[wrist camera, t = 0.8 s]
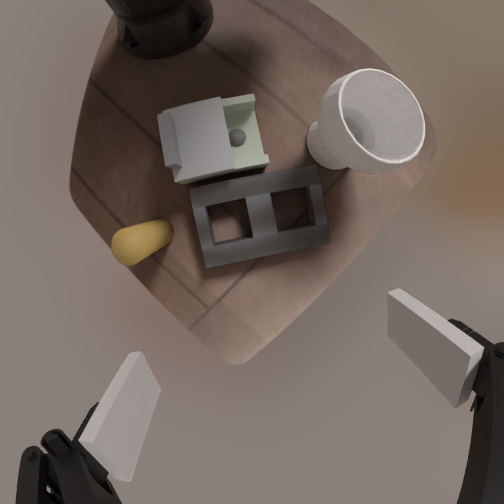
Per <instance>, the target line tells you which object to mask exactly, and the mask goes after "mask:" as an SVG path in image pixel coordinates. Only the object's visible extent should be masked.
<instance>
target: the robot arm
mask: <svg viewBox="0 0 504 504" xmlns="http://www.w3.org/2000/svg"><path fill="white" fill-rule="evenodd" d="M105 1H106V2H107V4H108V5H109V6H110V8H111V9H112V10H113V12H114V13H115V15H116V17H117V28H118V36H119V39H120V42H121V43H122V45H123V46H124V47H125V49H126V50H127V51H128V52H129V53H131V54H132V55H134V56H137V57H140V58H147V59H155V58H163V57H167V56H171V55H174V54H177V53H179V52H182V51H184V50H186V49H188V48H189V47H191V46H193V45H194V44H196V43H197V42H198V41H199V40H201V39H202V38H203V37H204V36H205V35H206V33H207V32H208V31H209V29H210V27H211V25H212V22H213V8H212V4H211V2H210V0H105ZM387 299H388V336H389V337H390V338H391V340H392V341H393V342H395V344H396V345H397V346H398V347H399V348H400V349H401V350H402V351H403V352H404V353H405V354H406V355H407V356H408V357H409V358H410V359H411V360H412V362H413V363H414V364H415V365H416V366H417V367H418V368H419V369H420V370H421V371H422V372H423V373H424V374H425V375H426V376H427V378H429V380H430V381H431V382H432V383H433V384H434V385H435V386H436V387H437V389H438V390H439V391H440V392H441V393H442V394H443V395H444V396H445V397H446V399H447V400H448V401H449V402H450V403H451V404H452V405H453V407H454V408H457V407H458V406H460V405H461V404H463V403H464V402H466V401H467V400H468V399H469V396H470V394H471V391H472V390H473V391H474V392H475V393H476V396H475V399H474V401H473V404H472V406H471V409H470V411H472V410H473V408H474V418H473V427H472V436H471V443H470V449H469V455H468V461H467V466H466V471H465V475H464V479H463V483H462V487H461V491H460V494H459V498H458V501H457V504H504V342H501V343H496V344H495V345H494V344H492V343H491V342H490V341H488V340H487V339H485V338H484V337H482V336H481V335H480V334H478V333H477V332H474V331H473V330H472V329H471V328H468V326H467V325H465V324H464V323H462V322H461V321H457V320H454V319H450V320H448V321H447V320H445V319H444V318H443V317H441V316H440V315H438V314H437V313H435V312H434V311H432V310H431V309H429V308H428V307H426V306H425V305H424V304H422V303H421V302H419V301H417V300H416V299H415V298H413V297H412V296H410V295H408V294H407V293H406V292H404V291H402V290H401V289H399V288H398V289H395V290H393V291H390V292H387ZM160 392H161V388H160V387H159V385H158V383H157V381H156V379H155V377H154V375H153V373H152V371H151V369H150V367H149V365H148V363H147V361H146V359H145V357H144V355H143V353H142V351H137V352H130V353H129V354H128V356H127V358H126V359H125V361H124V363H123V364H122V366H121V367H120V369H119V371H118V372H117V374H116V376H115V378H114V379H113V381H112V382H111V384H110V386H109V387H108V389H107V391H106V392H105V394H104V396H103V397H102V400H101V401H100V402H97V403H96V404H95V405H94V406H93V407H92V408H91V409H90V410H89V412H88V414H87V416H86V418H85V419H84V421H83V424H81V426H80V428H79V429H78V431H77V433H76V435H75V436H74V438H73V440H72V442H71V440H70V439H69V438H68V437H67V436H66V435H65V434H64V432H63V431H62V430H60V429H53V430H50V431H48V432H47V433H46V434H45V435H44V436H43V437H42V439H41V445H42V446H43V447H44V448H45V450H46V451H47V452H48V454H44V453H43V451H42V450H41V449H40V448H39V447H37V446H31V447H28V448H27V449H25V451H24V452H23V454H22V456H21V462H20V468H19V475H18V483H17V493H16V504H122V503H121V501H120V499H119V497H118V496H117V493H116V492H115V490H114V488H113V486H112V484H111V482H110V481H109V480H108V479H107V475H108V473H110V474H111V475H112V476H113V477H114V478H115V479H116V480H121V481H128V482H131V479H132V476H133V473H134V470H135V466H136V464H137V460H138V457H139V454H140V451H141V447H142V445H143V441H144V438H145V435H146V432H147V429H148V426H149V423H150V420H151V417H152V415H153V412H154V409H155V406H156V403H157V400H158V397H159V394H160ZM46 486H48V487H49V488H50V489H51V492H50V493H49V492H48V491H47V490H46V488H47V487H46Z"/></svg>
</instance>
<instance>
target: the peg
mask: <svg viewBox="0 0 504 504" xmlns="http://www.w3.org/2000/svg"><path fill="white" fill-rule="evenodd" d="M173 236H174V229H173V226H172V224H171V223H170V222H169V221H167V220H165V219H157V220H153V221H150V222H146V223H142V224H138V225H134V226H131V227H127V228H123V229H121V230H119V231H117V232H116V233H115V235H114V236H113V238H112V242H111V249H112V253H113V255H114V257H115V258H116V260H117V261H118V262H120V263H121V264H123V265H127V266H131V265H135V264H137V263H138V262H140V261H141V260H143V259H144V258H146V257H147V256H149V255H151V254H152V253H154V252H155V251H157V250H158V249H160V248H161V247H163V246H165V245H166V244H168V243H169V242H170V241H171V240H172V238H173Z"/></svg>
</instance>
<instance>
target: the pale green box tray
mask: <svg viewBox="0 0 504 504" xmlns="http://www.w3.org/2000/svg"><path fill="white" fill-rule="evenodd" d="M221 101H222V106H223V111H224V116H225V121H226V125H227V130H228V135H229V140H230V145H231V150H232V155H233V160H234V164H235V169H232V170H227V171H222V172H218V173H213V174H209V175H205V176H200V177H196V178H192V179H188V180H184V181H180V182H177V183H180V184H184V185H185V184H189V183H193V182H197V181H201V180H205V179H210V178H214V177H219V176H223V175H228V174H233V173H238V172H243V171H248V170H253V169H258V168H264V167H266V166H267V165H268V164H269V158H268V154H267V155H264V152H263V147H262V142H261V138H260V133H259V129H258V124H257V120H256V115H255V111H254V107H255V102H256V100H255V96H254V94H248V95H242V96H236V97H231V98H226V99H221Z"/></svg>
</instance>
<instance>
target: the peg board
mask: <svg viewBox="0 0 504 504" xmlns="http://www.w3.org/2000/svg"><path fill="white" fill-rule="evenodd" d="M301 187H304V191H305V196H306V201H307V207H308V212H309V218H310V224H305V225H300V226H295V227H290V228H285V229H280V230H277V227H276V221H275V216H274V211H273V206H272V201H271V196H270V193H273V192H278V191H284V190H289V189H295V188H301ZM189 193H190V198H191V203H192V208H193V212H194V217H195V222H196V226H197V231H198V235H199V239H200V244H201V248H202V252H203V256H204V261H205V265H206V268H211V267H215V266H220V265H225V264H230V263H235V262H240V261H245V260H250V259H254V258H259V257H264V256H269V255H274V254H278V253H283V252H288V251H293V250H298V249H302V248H307V247H312V246H316V245H321V244H326V243H331V242H330V235H329V229H328V223H327V216H326V210H325V205H324V199H323V193H322V188H321V183H320V178H319V173H318V168H317V165H310V166H304V167H297V168H291V169H285V170H279V171H273V172H267V173H262V174H257V175H251V176H246V177H241V178H236V179H232V180H227V181H222V182H218V183H213V184H209V185H204V186H200V187H196V188H192V189H189ZM242 198H245V201H246V206H247V211H248V215H249V220H250V225H251V230H252V235H250V236H245V237H240V238H236V239H231V240H226V241H221V242H217V243H216V242H215V238H214V233H213V229H212V224H211V219H210V215H209V210H208V206H209V205H214V204H219V203H223V202H228V201H233V200H237V199H242Z"/></svg>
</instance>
